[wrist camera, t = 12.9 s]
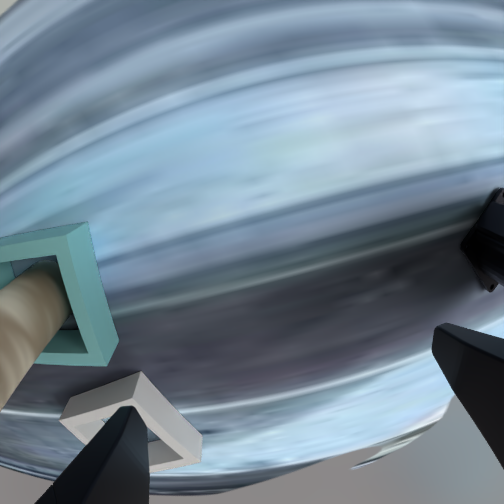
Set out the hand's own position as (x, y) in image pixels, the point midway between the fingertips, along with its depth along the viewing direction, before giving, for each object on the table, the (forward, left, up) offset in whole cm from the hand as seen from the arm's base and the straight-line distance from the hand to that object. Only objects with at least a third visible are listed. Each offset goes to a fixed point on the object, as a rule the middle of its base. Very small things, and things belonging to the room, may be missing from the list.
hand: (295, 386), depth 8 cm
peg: (+9, +11, -12) cm, 19 cm away
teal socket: (+9, +11, -12) cm, 19 cm away
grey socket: (-2, +18, -12) cm, 22 cm away
